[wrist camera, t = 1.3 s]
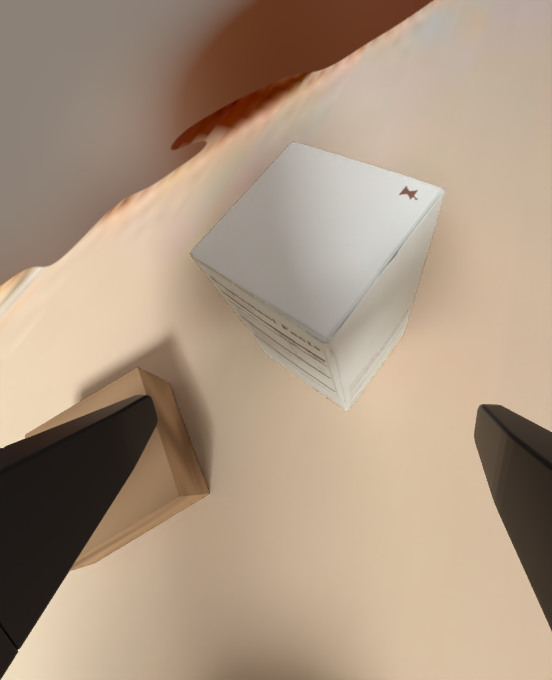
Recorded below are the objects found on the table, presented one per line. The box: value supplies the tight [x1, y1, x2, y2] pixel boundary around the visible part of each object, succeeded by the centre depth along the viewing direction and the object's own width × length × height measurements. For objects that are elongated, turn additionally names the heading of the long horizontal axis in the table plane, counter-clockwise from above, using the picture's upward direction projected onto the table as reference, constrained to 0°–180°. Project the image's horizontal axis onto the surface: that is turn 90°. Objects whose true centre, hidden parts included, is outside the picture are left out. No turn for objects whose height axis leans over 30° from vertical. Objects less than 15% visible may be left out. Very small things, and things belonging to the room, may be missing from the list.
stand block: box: [25, 367, 210, 571], centre depth 21 cm, size 9×9×4 cm
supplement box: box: [190, 142, 445, 411], centre depth 18 cm, size 7×7×13 cm
